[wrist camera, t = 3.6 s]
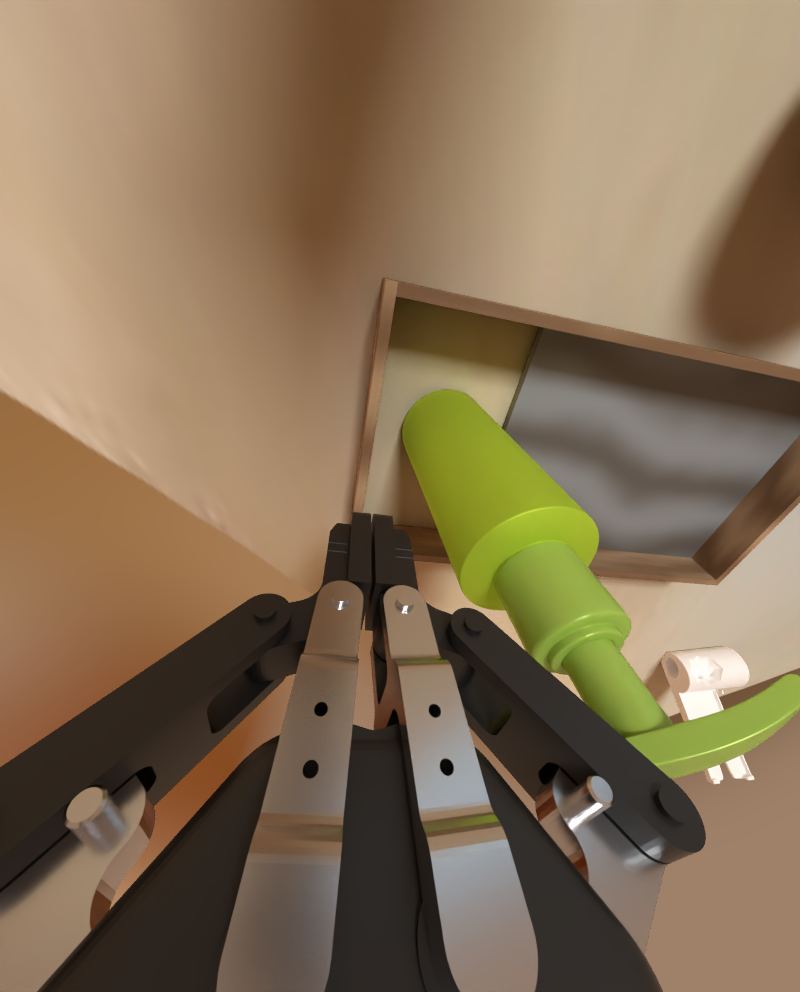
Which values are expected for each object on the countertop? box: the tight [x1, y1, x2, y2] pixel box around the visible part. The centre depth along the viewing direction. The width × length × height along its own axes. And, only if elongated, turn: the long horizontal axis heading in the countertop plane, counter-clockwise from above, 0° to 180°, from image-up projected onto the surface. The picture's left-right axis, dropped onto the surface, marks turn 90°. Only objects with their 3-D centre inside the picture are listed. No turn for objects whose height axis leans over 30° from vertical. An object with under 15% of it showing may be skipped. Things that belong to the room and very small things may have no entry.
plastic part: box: [661, 646, 754, 784], centre depth 42 cm, size 8×10×12 cm
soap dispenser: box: [402, 390, 800, 779], centre depth 16 cm, size 6×7×20 cm
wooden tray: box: [351, 278, 800, 585], centre depth 25 cm, size 18×34×4 cm, turn 79°
